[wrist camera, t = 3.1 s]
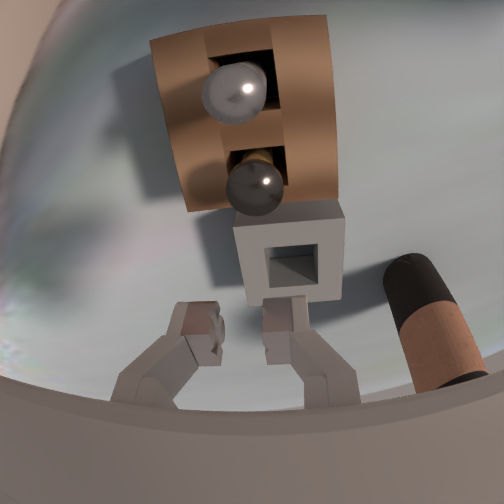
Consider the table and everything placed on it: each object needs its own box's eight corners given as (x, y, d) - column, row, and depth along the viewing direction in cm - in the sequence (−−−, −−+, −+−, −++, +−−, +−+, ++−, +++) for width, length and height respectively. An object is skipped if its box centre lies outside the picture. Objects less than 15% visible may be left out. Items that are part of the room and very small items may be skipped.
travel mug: (434, 286, 38) (487, 413, 21) (384, 303, 40) (421, 439, 23) (432, 243, 34) (506, 381, 17) (376, 262, 36) (427, 414, 20)
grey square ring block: (237, 202, 32) (232, 227, 28) (335, 193, 31) (345, 218, 27) (250, 276, 38) (248, 306, 34) (334, 270, 37) (340, 299, 33)
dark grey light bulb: (234, 135, 25) (221, 167, 19) (277, 130, 25) (280, 161, 18) (240, 173, 27) (230, 218, 21) (281, 169, 27) (285, 213, 20)
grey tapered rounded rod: (230, 63, 24) (196, 70, 13) (264, 58, 24) (261, 60, 12) (235, 94, 26) (207, 128, 14) (269, 90, 25) (269, 120, 14)
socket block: (176, 42, 23) (149, 40, 17) (312, 24, 21) (326, 14, 16) (203, 178, 31) (187, 212, 25) (324, 166, 29) (338, 198, 24)
